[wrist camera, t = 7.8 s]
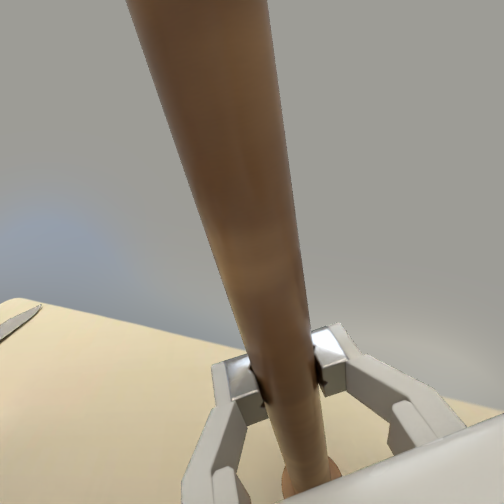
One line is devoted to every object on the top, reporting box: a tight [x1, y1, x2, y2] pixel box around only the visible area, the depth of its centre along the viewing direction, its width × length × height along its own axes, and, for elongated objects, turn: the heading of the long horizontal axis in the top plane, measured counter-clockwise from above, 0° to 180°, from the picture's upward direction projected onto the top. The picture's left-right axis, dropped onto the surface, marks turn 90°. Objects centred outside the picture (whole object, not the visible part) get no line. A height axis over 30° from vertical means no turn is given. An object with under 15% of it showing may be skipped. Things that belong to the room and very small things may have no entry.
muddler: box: [126, 0, 342, 499], centre depth 11 cm, size 4×4×24 cm
